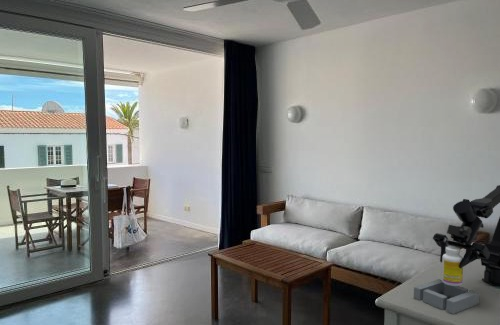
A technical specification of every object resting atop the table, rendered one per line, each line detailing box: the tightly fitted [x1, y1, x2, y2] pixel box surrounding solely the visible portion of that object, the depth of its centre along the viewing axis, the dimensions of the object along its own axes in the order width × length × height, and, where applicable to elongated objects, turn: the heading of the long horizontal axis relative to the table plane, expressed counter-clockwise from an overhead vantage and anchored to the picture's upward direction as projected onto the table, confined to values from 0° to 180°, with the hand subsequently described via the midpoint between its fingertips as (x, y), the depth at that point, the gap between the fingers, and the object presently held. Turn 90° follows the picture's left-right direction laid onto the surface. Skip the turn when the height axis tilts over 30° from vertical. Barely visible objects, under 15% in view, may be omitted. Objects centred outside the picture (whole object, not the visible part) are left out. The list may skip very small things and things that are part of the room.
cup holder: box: [413, 278, 480, 315], centre depth 139 cm, size 15×15×4 cm
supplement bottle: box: [441, 246, 464, 287], centre depth 140 cm, size 7×7×13 cm
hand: (450, 264), depth 139 cm, fingers closed on supplement bottle, 7 cm apart
